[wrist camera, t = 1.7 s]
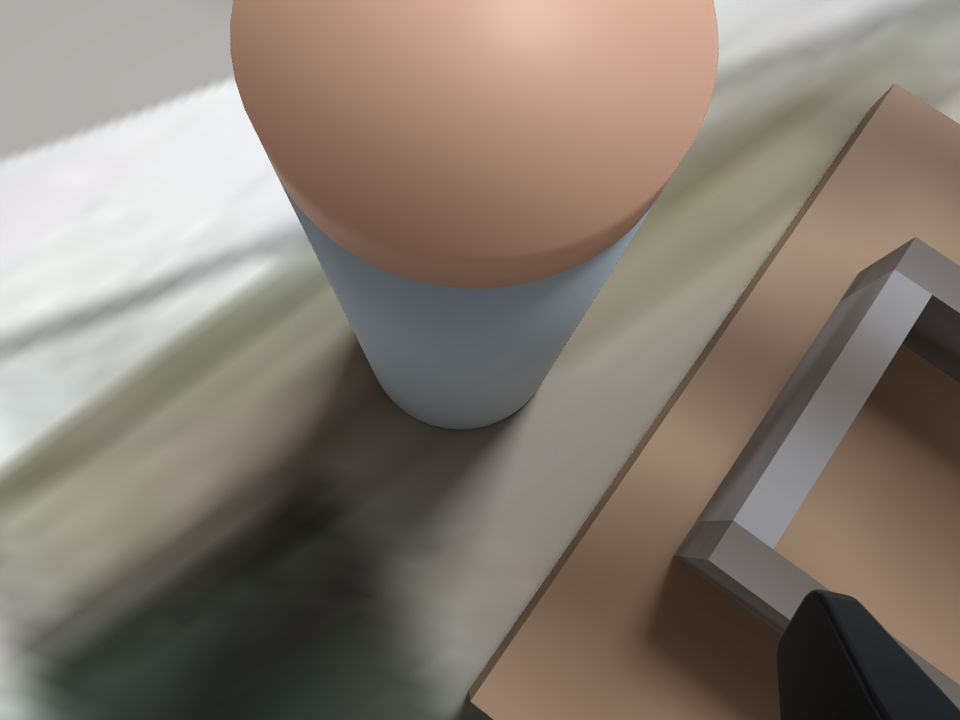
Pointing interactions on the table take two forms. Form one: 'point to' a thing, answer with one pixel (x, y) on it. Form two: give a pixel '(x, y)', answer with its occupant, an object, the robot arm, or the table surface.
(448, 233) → the peach-capped cylinder
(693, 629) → the jig board
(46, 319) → the table surface
